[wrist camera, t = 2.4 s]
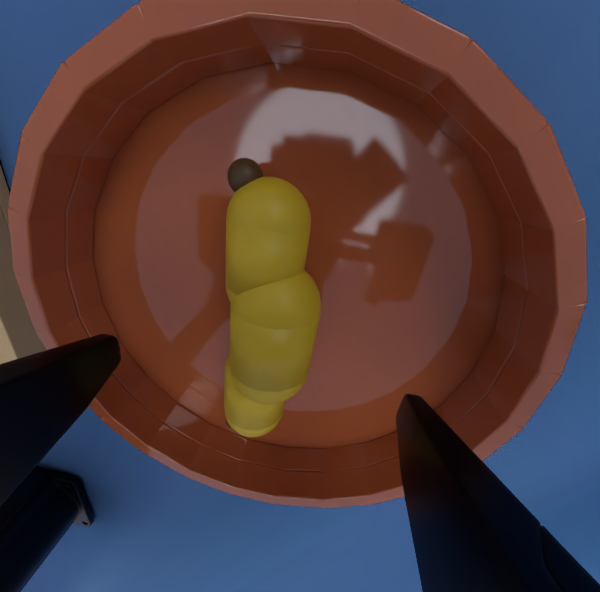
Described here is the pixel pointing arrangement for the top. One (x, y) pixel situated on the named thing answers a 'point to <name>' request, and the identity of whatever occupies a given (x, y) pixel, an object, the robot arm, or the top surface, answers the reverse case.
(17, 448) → the robot arm
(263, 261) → the banana
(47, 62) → the top surface
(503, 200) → the bowl
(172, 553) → the top surface
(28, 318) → the tray
